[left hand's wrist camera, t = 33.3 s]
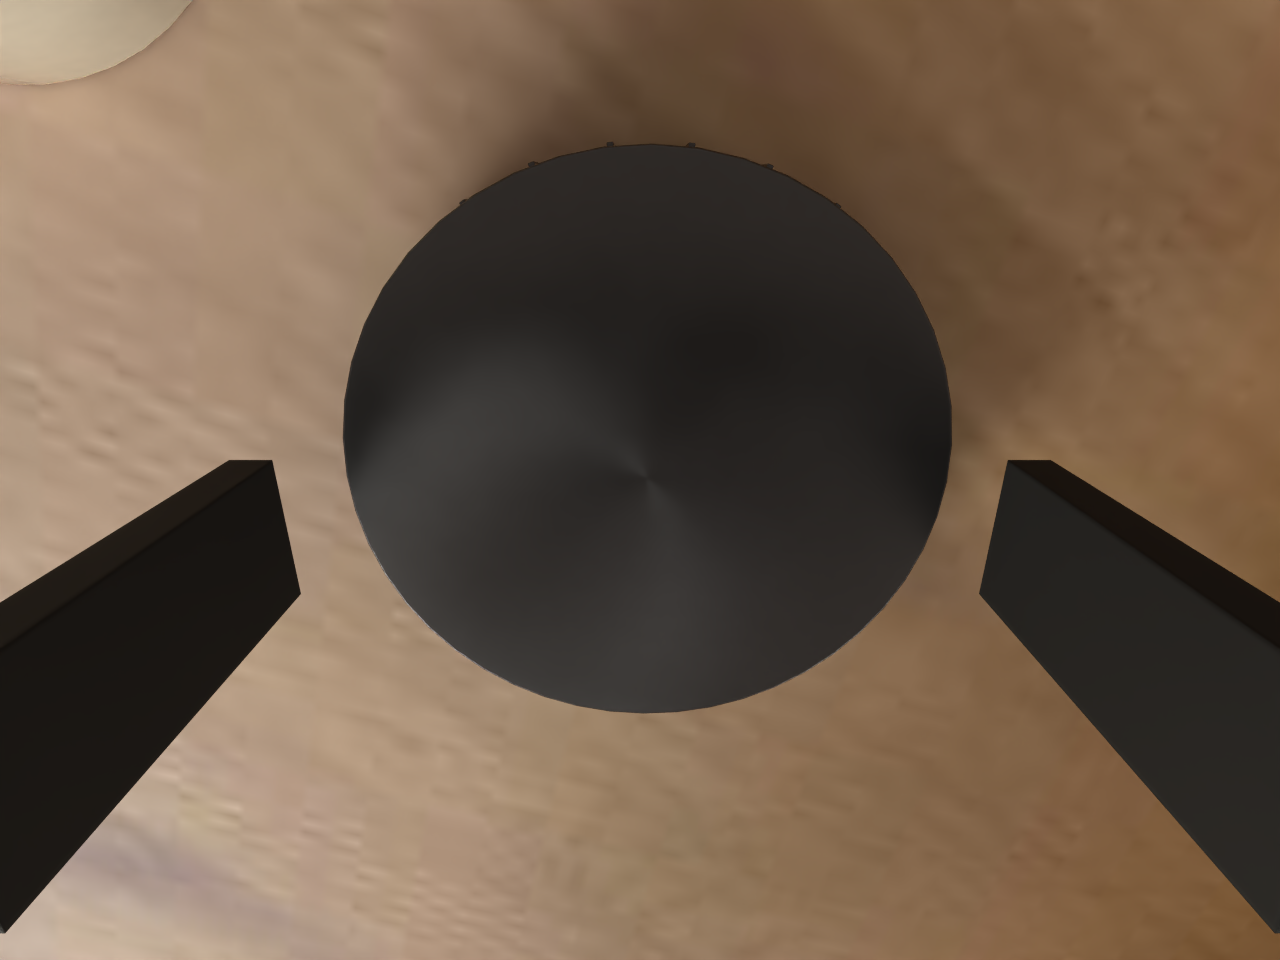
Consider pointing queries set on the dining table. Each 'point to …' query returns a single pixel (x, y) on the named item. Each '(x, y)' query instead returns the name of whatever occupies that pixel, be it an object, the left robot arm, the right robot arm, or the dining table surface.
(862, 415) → the lid
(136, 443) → the dining table surface
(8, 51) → the jar
